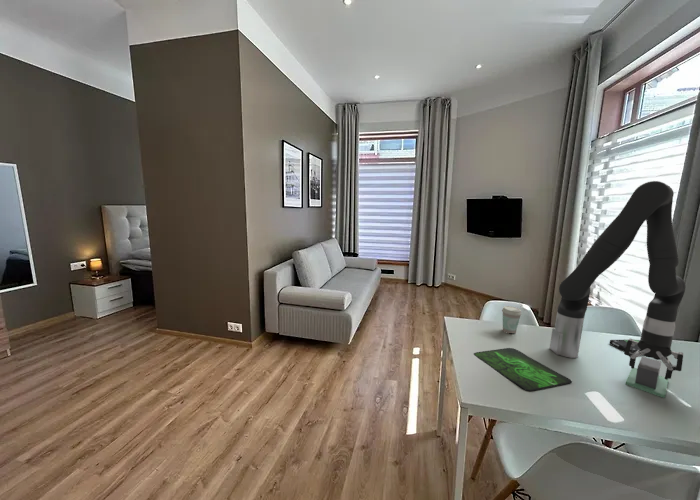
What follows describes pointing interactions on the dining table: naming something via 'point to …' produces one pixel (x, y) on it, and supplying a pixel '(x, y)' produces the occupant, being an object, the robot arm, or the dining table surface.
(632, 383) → the green flat rectangular block
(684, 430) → the dining table surface
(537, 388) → the mouse mat
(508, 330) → the coffee cup
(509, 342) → the dining table surface
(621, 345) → the disk drive
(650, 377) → the block
